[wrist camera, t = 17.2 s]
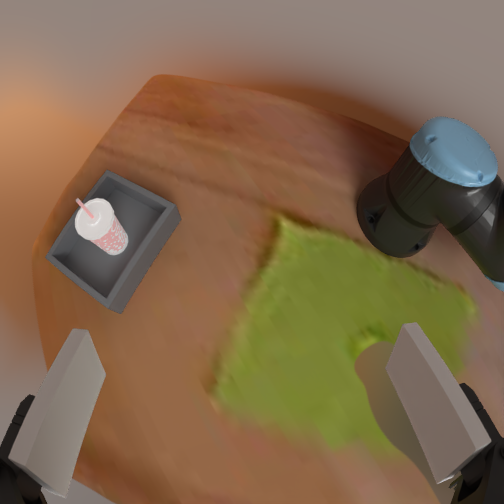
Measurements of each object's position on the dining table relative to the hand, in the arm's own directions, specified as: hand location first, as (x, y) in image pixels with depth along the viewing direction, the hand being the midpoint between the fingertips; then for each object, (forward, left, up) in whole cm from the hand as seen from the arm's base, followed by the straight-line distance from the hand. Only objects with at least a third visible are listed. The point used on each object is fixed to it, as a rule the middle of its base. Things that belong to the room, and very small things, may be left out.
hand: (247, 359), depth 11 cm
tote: (-5, -26, -32) cm, 41 cm away
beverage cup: (-5, -26, -31) cm, 41 cm away
